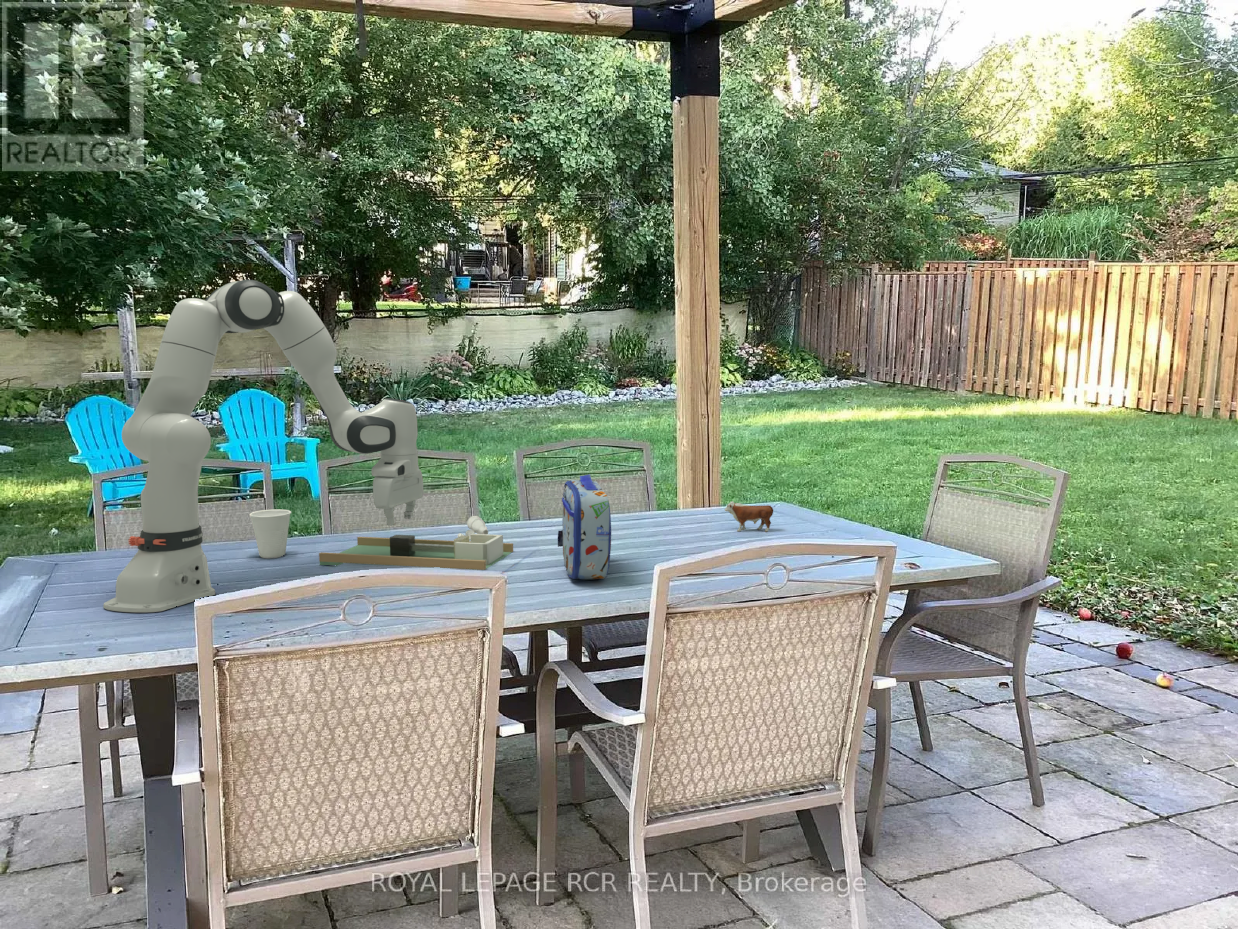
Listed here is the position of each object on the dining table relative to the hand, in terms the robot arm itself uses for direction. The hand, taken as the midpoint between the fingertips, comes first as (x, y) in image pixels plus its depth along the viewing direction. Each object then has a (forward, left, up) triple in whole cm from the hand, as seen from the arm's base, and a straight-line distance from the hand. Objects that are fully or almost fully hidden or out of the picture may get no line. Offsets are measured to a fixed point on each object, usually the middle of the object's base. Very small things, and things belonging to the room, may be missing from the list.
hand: (400, 521), depth 245 cm
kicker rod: (+1, -7, -8) cm, 11 cm away
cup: (-2, +34, -10) cm, 35 cm away
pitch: (+1, -4, -10) cm, 10 cm away
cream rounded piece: (+21, -11, -10) cm, 26 cm away
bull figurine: (+54, -79, -10) cm, 96 cm away
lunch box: (-2, -47, -10) cm, 48 cm away
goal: (+1, -20, -10) cm, 22 cm away
